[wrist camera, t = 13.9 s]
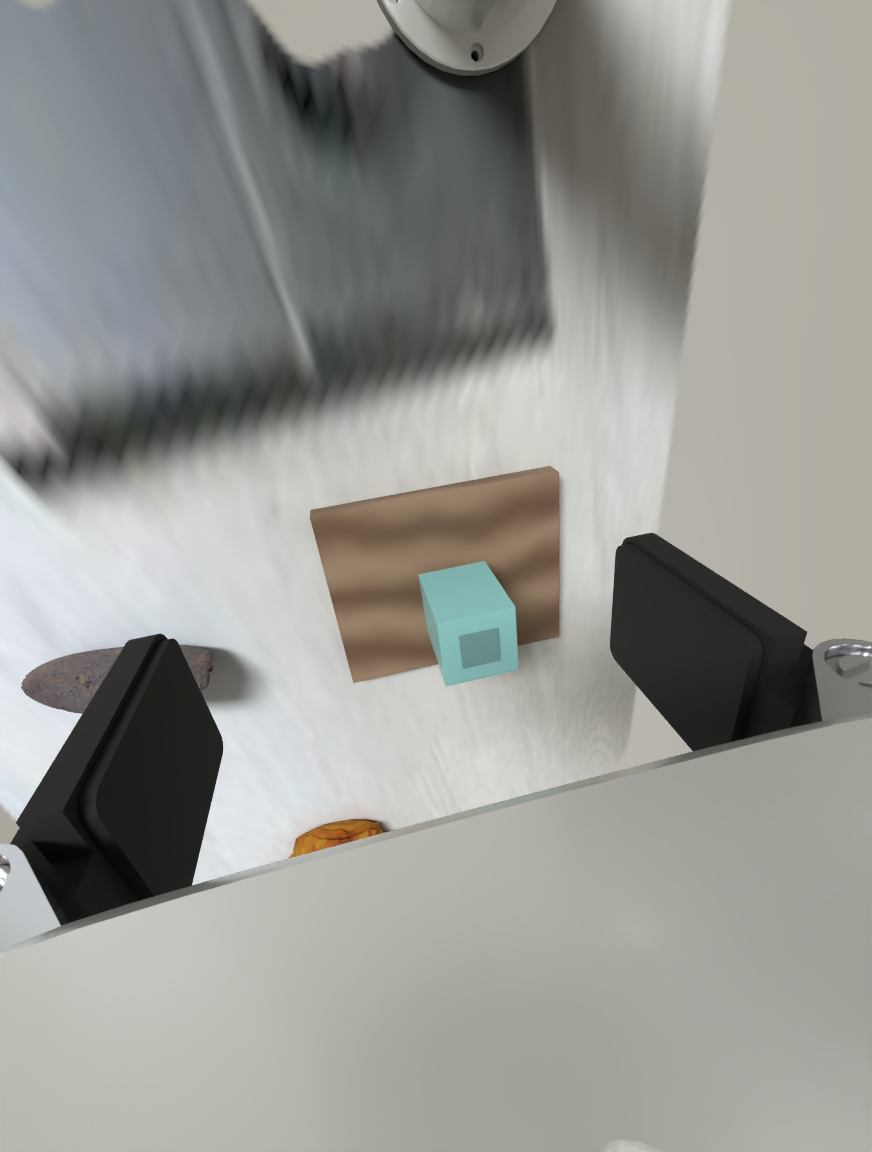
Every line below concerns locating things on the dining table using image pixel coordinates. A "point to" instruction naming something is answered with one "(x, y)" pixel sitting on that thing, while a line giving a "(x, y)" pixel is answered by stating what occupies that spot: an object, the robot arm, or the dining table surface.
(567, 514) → the dining table surface
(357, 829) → the croissant
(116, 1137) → the robot arm
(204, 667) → the perforated stone tool
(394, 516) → the stud board
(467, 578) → the teal block
